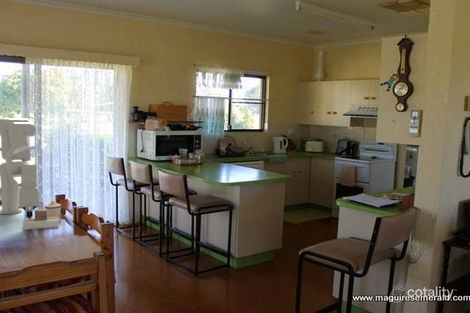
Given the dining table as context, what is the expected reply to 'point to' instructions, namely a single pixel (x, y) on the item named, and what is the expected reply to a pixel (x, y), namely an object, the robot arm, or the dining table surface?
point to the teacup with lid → (53, 210)
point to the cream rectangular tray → (40, 223)
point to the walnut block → (40, 214)
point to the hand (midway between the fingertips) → (29, 218)
